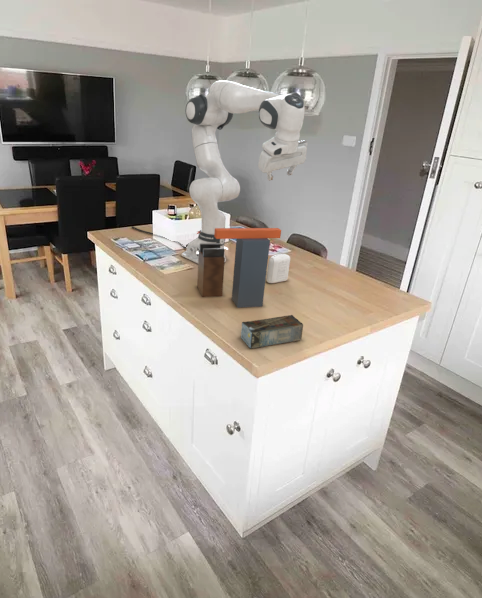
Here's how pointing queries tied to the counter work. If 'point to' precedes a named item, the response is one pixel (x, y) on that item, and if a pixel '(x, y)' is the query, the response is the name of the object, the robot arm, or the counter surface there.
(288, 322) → the beverage carton
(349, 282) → the counter surface
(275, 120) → the robot arm
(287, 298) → the counter surface
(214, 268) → the wood grain post
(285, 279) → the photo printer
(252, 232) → the orange bar
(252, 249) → the stand
